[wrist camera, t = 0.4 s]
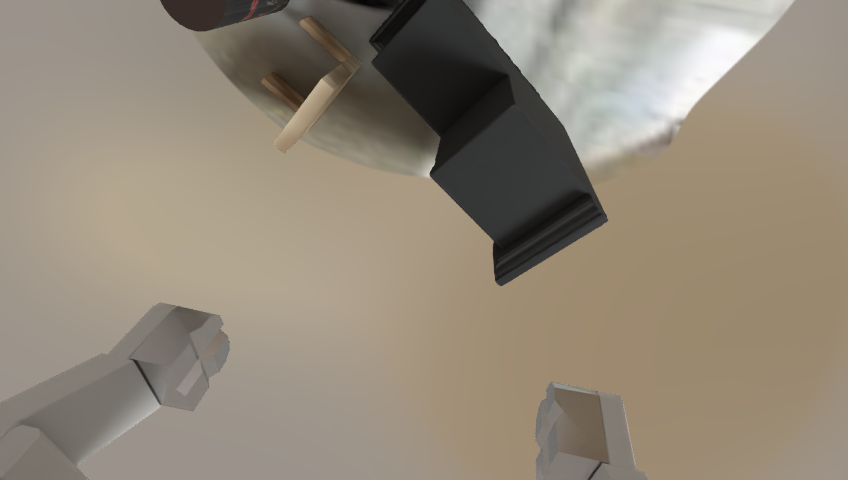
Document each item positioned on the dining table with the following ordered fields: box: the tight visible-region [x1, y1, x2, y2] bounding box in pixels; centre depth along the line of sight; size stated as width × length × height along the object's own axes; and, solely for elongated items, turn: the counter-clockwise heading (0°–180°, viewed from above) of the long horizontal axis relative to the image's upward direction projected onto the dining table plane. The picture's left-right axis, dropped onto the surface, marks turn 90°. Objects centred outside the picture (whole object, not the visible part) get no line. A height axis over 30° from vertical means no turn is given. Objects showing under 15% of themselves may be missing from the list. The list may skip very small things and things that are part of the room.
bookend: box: [369, 0, 608, 286], centre depth 42 cm, size 23×11×24 cm, turn 44°
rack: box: [261, 16, 362, 153], centre depth 47 cm, size 8×9×12 cm
